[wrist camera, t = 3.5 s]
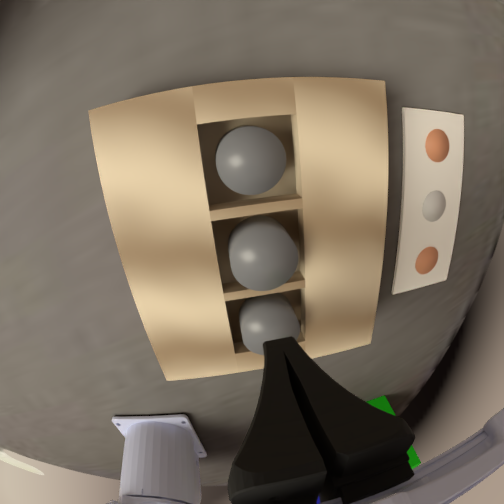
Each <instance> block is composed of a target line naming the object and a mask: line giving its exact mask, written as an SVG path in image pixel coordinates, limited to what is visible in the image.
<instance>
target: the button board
mask: <svg viewBox="0 0 504 504" xmlns="http://www.w3.org/2000/svg"><path fill="white" fill-rule="evenodd" d="M89 118H90V125H91V132H92V138H93V144H94V150H95V155H96V160H97V166H98V171H99V175H100V180H101V185H102V189H103V194H104V198H105V202H106V206H107V210H108V214H109V218H110V222H111V226H112V230H113V233H114V237H115V240H116V244H117V247H118V251H119V254H120V257H121V261H122V264H123V267H124V270H125V273H126V276H127V280H128V283H129V286H130V289H131V291H132V294H133V297H134V300H135V303H136V306H137V308H138V311H139V314H140V317H141V319H142V322H143V325H144V327H145V330H146V332H147V335H148V337H149V340H150V342H151V345H152V347H153V350H154V352H155V354H156V357H157V359H158V361H159V364H160V366H161V368H162V371H163V373H164V375H165V377H166V380H167V381H172V380H182V379H192V378H201V377H209V376H217V375H224V374H231V373H238V372H244V371H250V370H256V369H262V368H264V355H259V354H256V353H253V352H252V351H250V350H249V349H248V348H247V347H246V346H245V345H244V343H243V339H242V333H241V327H240V322H239V309H240V307H241V305H242V303H243V302H244V301H245V300H246V299H247V298H249V297H255V296H261V295H267V294H273V293H278V292H279V293H281V294H283V295H284V296H286V297H287V298H288V300H289V301H290V304H291V306H292V308H293V311H294V313H295V315H296V317H297V320H298V322H299V325H300V334H299V337H298V339H297V340H296V341H297V342H298V344H299V345H300V346H301V347H302V349H303V350H304V351H305V352H306V353H307V354H308V356H309V357H310V358H311V359H312V358H316V357H320V356H325V355H329V354H333V353H337V352H341V351H345V350H348V349H352V348H356V347H360V346H363V345H367V344H370V343H371V337H372V332H373V326H374V321H375V315H376V309H377V302H378V295H379V288H380V281H381V273H382V264H383V255H384V244H385V232H386V218H387V199H388V121H387V102H386V89H385V81H380V80H369V79H356V78H336V77H283V78H263V79H249V80H238V81H228V82H220V83H212V84H204V85H198V86H191V87H185V88H179V89H174V90H168V91H163V92H158V93H154V94H149V95H145V96H140V97H136V98H132V99H128V100H124V101H120V102H116V103H113V104H109V105H106V106H102V107H99V108H95V109H92V110H89ZM239 126H255V127H260V128H264V129H266V130H268V131H270V132H272V133H273V134H274V135H275V136H276V137H277V138H278V139H279V140H280V141H281V143H282V145H283V147H284V149H285V153H286V167H285V171H284V173H283V176H282V177H281V179H280V180H279V182H278V183H277V184H276V185H275V186H274V187H273V188H271V189H270V190H268V191H266V192H264V193H261V194H257V195H244V194H240V193H237V192H235V191H233V190H231V189H230V188H229V187H227V186H226V185H225V184H224V183H223V181H222V180H221V178H220V176H219V174H218V171H217V167H216V161H215V151H216V147H217V144H218V142H219V141H220V139H221V138H222V137H223V135H224V134H226V133H227V132H228V131H230V130H231V129H233V128H236V127H239ZM259 215H261V216H268V217H271V218H273V219H275V220H277V221H278V222H279V223H281V225H282V226H283V227H284V228H285V230H286V231H287V233H288V234H289V236H290V237H291V239H292V240H293V242H294V244H295V245H296V248H297V251H298V265H297V268H296V270H295V272H294V274H293V275H292V277H291V278H290V279H289V280H288V281H287V282H286V283H284V284H283V285H281V286H280V287H278V288H275V289H272V290H268V291H255V290H251V289H248V288H246V287H244V286H243V285H241V284H240V283H239V282H238V281H237V280H236V278H235V277H234V275H233V273H232V269H231V264H230V258H229V252H228V239H229V236H230V234H231V232H232V230H233V229H234V227H235V226H236V225H237V224H238V223H240V222H241V221H242V220H244V219H246V218H249V217H252V216H259Z"/></svg>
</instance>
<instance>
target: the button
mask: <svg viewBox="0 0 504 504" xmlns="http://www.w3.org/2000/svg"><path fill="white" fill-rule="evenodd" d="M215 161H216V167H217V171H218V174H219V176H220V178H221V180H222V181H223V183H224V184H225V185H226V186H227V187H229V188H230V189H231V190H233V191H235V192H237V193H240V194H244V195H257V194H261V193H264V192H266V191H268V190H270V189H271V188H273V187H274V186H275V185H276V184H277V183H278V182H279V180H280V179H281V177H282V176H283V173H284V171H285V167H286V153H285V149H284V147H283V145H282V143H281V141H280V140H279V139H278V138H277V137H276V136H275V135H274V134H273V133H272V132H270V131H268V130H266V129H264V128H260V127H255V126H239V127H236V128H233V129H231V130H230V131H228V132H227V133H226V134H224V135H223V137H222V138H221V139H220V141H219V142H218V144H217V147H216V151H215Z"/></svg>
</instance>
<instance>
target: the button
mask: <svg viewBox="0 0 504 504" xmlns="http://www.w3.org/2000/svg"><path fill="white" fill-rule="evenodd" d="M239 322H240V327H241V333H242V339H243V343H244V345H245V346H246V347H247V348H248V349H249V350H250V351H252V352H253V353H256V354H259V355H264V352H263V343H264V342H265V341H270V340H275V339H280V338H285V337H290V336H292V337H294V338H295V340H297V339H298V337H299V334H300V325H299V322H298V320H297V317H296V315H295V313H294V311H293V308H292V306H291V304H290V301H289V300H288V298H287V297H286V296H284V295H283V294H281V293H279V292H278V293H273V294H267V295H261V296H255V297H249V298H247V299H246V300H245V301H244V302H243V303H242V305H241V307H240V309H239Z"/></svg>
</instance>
